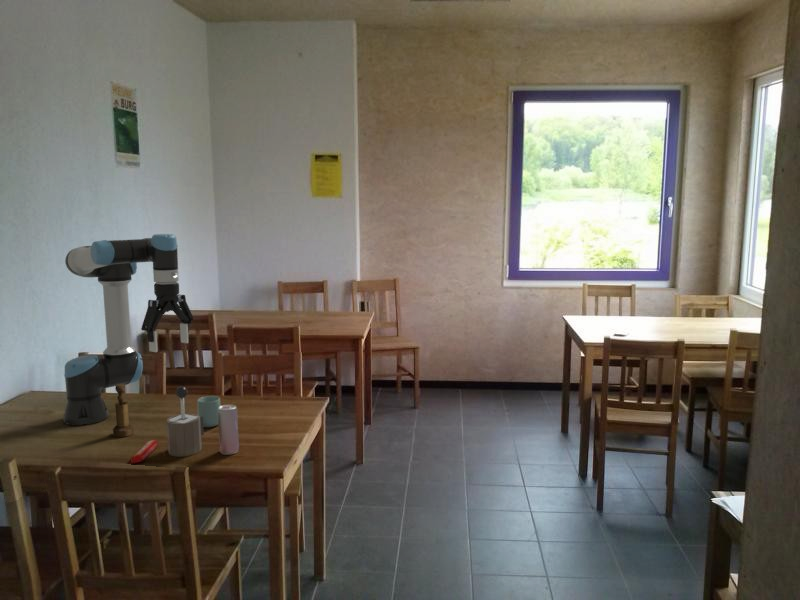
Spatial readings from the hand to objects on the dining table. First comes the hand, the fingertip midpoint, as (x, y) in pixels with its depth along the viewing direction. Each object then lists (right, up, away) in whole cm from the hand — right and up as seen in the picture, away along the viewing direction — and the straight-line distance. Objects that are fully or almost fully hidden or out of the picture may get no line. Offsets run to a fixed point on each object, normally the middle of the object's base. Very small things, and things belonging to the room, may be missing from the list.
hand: (169, 347), depth 207 cm
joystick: (+5, -32, -1) cm, 32 cm away
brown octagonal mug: (+6, -33, +1) cm, 34 cm away
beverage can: (+20, -34, -2) cm, 39 cm away
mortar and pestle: (-22, -32, +15) cm, 41 cm away
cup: (+6, -30, +23) cm, 39 cm away
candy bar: (-7, -35, -4) cm, 36 cm away
